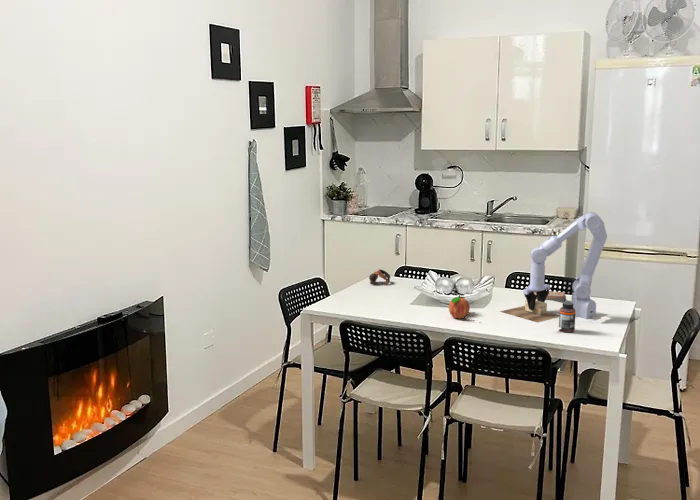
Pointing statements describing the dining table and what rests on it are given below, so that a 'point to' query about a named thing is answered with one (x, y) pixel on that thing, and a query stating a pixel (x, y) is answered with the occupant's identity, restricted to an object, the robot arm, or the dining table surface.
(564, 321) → the supplement bottle
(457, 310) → the fruit
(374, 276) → the brown arch piece
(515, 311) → the walnut board
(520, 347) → the dining table surface
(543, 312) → the block
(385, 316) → the dining table surface
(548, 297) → the packaged product
